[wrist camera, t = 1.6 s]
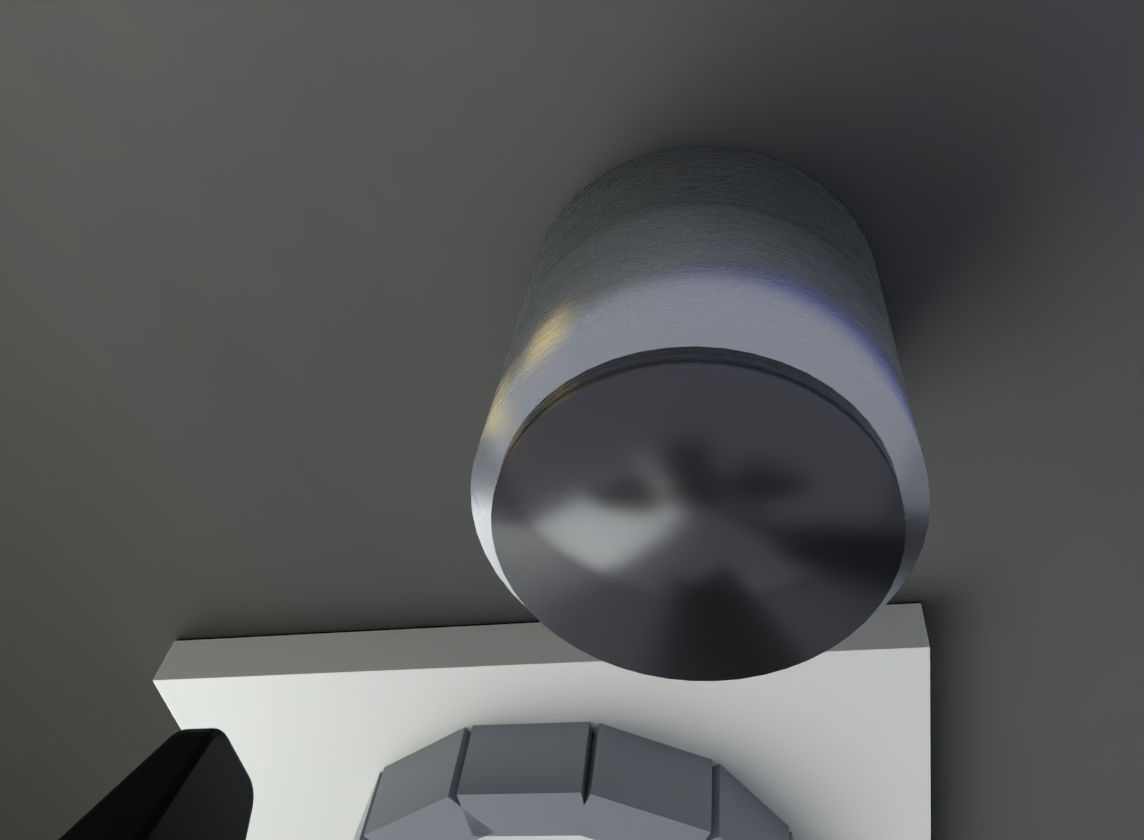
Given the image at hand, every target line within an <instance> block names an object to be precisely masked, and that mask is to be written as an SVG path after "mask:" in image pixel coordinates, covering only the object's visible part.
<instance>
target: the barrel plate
mask: <svg viewBox="0 0 1144 840" xmlns="http://www.w3.org/2000/svg"><path fill="white" fill-rule="evenodd" d="M152 681H153V682H154V684H155V686H156V687H157V689H158V691H159V693H160V694H161V696H162V698H163V699H164V701H165V703H166V704H167V706H168V708H169V710H170V711H171V713H172V715H173V716H174V718H175V720H176V722H177V723H178V725H179V727H180V728H181V730H184V729H199V728H216V729H219V730H221V731H223V732H224V733H225V734H226V735H227V737H228V739H229V740H230V742H231V744H232V746H233V748H234V749H235V751H236V753H237V755H238V757H239V758H240V760H241V762H242V764H243V766H244V768H245V769H246V771H247V773H248V775H249V777H250V779H251V782H252V786H253V793H254V800H253V808H252V813H251V818H250V823H249V827H248V832H247V837H246V840H931V772H930V645H929V640H928V635H927V630H926V626H925V621H924V616H923V611H922V606H921V603H914V604H894V605H885V606H884V607H883V608H882V609H881V610H880V611H878V612H877V613H876V614H875V615H874V616H873V617H872V618H870V619H869V620H868V621H867V622H866V623H865V624H863V625H862V626H860V627H859V628H858V629H857V630H856V631H854V632H853V633H852V634H851V635H850V636H849V637H847V638H846V639H844V640H843V641H841V642H840V643H838V644H837V645H835V646H834V647H832V648H831V649H829V650H827V651H826V652H824V653H822V654H820V655H818V656H816V657H814V658H812V659H810V660H808V661H805V662H803V663H800V664H798V665H795V666H792V667H790V668H787V669H784V670H780V671H776V672H773V673H769V674H766V675H761V676H755V677H750V678H744V679H736V680H724V681H686V680H676V679H666V678H661V677H655V676H650V675H645V674H641V673H637V672H634V671H630V670H626V669H623V668H620V667H617V666H614V665H612V664H609V663H607V662H604V661H601V660H599V659H597V658H595V657H593V656H591V655H589V654H587V653H585V652H583V651H581V650H579V649H577V648H575V647H574V646H572V645H571V644H569V643H567V642H566V641H564V640H563V639H561V638H560V637H558V636H557V635H556V634H554V633H553V632H552V631H551V630H549V629H548V628H547V627H546V626H544V625H543V624H542V623H541V622H539V623H519V624H500V625H480V626H460V627H440V628H421V629H401V630H381V631H362V632H342V633H322V634H302V635H283V636H263V637H243V638H223V639H204V640H184V641H174V643H173V644H172V646H171V648H170V650H169V652H168V653H167V655H166V657H165V659H164V661H163V662H162V664H161V666H160V668H159V670H158V671H157V673H156V675H155V677H154V678H153V680H152Z"/></svg>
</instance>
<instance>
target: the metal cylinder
mask: <svg viewBox="0 0 1144 840" xmlns="http://www.w3.org/2000/svg"><path fill="white" fill-rule="evenodd" d="M471 504H472V513H473V518H474V522H475V527H476V531H477V534H478V537H479V539H480V542H481V544H482V547H483V549H484V552H485V554H486V556H487V558H488V559H489V561H490V563H491V565H492V566H493V568H494V570H495V572H496V573H497V575H498V576H499V577H500V579H501V580H502V581H503V582H504V584H505V585H506V586H507V588H508V589H509V590H510V592H511V593H512V594H513V595H514V596H515V597H516V598H517V599H518V600H519V601H520V602H521V603H522V604H523V605H524V606H525V607H526V608H527V609H528V610H529V611H530V612H531V613H532V614H533V615H534V616H535V617H536V618H537V619H538V620H539V621H540V622H541V623H542V624H543V625H544V626H546V627H547V628H548V629H549V630H551V631H552V632H553V633H554V634H556V635H557V636H558V637H560V638H561V639H563V640H564V641H566V642H567V643H569V644H571V645H572V646H574V647H575V648H577V649H579V650H581V651H583V652H585V653H587V654H589V655H591V656H593V657H595V658H597V659H599V660H601V661H604V662H607V663H609V664H612V665H614V666H617V667H620V668H623V669H626V670H630V671H634V672H637V673H641V674H645V675H650V676H655V677H661V678H666V679H676V680H686V681H724V680H736V679H744V678H750V677H755V676H761V675H766V674H769V673H773V672H776V671H780V670H784V669H787V668H790V667H792V666H795V665H798V664H800V663H803V662H805V661H808V660H810V659H812V658H814V657H816V656H818V655H820V654H822V653H824V652H826V651H827V650H829V649H831V648H832V647H834V646H835V645H837V644H838V643H840V642H841V641H843V640H844V639H846V638H847V637H849V636H850V635H851V634H852V633H853V632H854V631H856V630H857V629H858V628H859V627H860V626H862V625H863V624H865V623H866V622H867V621H868V620H869V619H870V618H872V617H873V616H874V615H875V614H876V613H877V612H878V611H880V610H881V609H882V608H883V607H884V606H885V605H886V604H887V603H888V601H889V600H890V599H891V598H892V597H893V596H894V595H895V594H896V592H897V591H898V590H899V589H900V587H901V586H902V584H903V583H904V581H905V580H906V578H907V577H908V575H909V574H910V572H911V571H912V569H913V567H914V565H915V562H916V560H917V558H918V556H919V553H920V551H921V549H922V546H923V543H924V539H925V535H926V531H927V527H928V521H929V509H930V493H929V483H928V475H927V471H926V467H925V463H924V459H923V455H922V451H921V447H920V443H919V439H918V434H917V430H916V426H915V422H914V418H913V414H912V410H911V406H910V402H909V398H908V394H907V390H906V386H905V382H904V378H903V374H902V370H901V366H900V362H899V358H898V354H897V349H896V345H895V341H894V337H893V333H892V329H891V325H890V321H889V317H888V313H887V309H886V305H885V301H884V297H883V293H882V289H881V285H880V281H879V277H878V273H877V269H876V265H875V262H874V258H873V254H872V251H871V249H870V247H869V245H868V242H867V240H866V238H865V236H864V233H863V232H862V230H861V229H860V227H859V225H858V224H857V222H856V221H855V219H854V218H853V216H852V215H851V213H850V212H849V211H848V210H847V209H846V208H845V207H844V205H843V204H842V203H841V202H840V201H839V200H838V199H837V197H835V196H834V195H833V194H832V193H831V192H830V191H828V190H827V189H826V188H825V187H824V186H823V185H821V184H820V183H819V182H818V181H816V180H815V179H813V178H811V177H810V176H808V175H807V174H805V173H804V172H802V171H801V170H799V169H797V168H795V167H793V166H790V165H788V164H786V163H784V162H782V161H780V160H778V159H775V158H772V157H768V156H765V155H762V154H759V153H756V152H752V151H746V150H741V149H735V148H730V147H713V146H697V147H684V148H676V149H671V150H666V151H661V152H656V153H652V154H649V155H646V156H643V157H640V158H638V159H635V160H632V161H629V162H627V163H625V164H623V165H621V166H619V167H617V168H615V169H613V170H611V171H609V172H608V173H606V174H605V175H603V176H602V177H600V178H599V179H597V180H596V181H594V182H593V183H591V184H590V185H589V186H587V187H586V188H585V189H584V190H583V191H582V192H581V193H579V194H578V195H577V196H576V197H575V198H574V199H573V200H572V201H571V202H570V203H569V204H568V206H567V207H566V208H565V209H564V210H563V211H562V213H561V214H560V215H559V216H558V218H557V219H556V221H555V222H554V224H553V225H552V227H551V229H550V230H549V232H548V233H547V235H546V237H545V240H544V242H543V244H542V246H541V248H540V251H539V253H538V256H537V259H536V263H535V266H534V269H533V272H532V276H531V279H530V282H529V285H528V288H527V292H526V295H525V298H524V301H523V304H522V308H521V311H520V314H519V317H518V321H517V324H516V327H515V330H514V333H513V337H512V340H511V343H510V346H509V349H508V353H507V356H506V359H505V362H504V366H503V369H502V372H501V375H500V378H499V382H498V385H497V388H496V391H495V394H494V398H493V401H492V404H491V407H490V411H489V414H488V417H487V420H486V423H485V427H484V430H483V433H482V436H481V439H480V443H479V446H478V450H477V453H476V457H475V460H474V464H473V470H472V480H471Z"/></svg>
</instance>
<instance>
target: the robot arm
mask: <svg viewBox="0 0 1144 840" xmlns="http://www.w3.org/2000/svg"><path fill="white" fill-rule="evenodd" d="M253 800H254V793H253V786H252V782H251V779H250V777H249V775H248V773H247V771H246V769H245V768H244V766H243V764H242V762H241V760H240V758H239V757H238V755H237V753H236V751H235V749H234V748H233V746H232V744H231V742H230V740H229V739H228V737H227V735H226V734H225V733H224V732H223V731H221V730H219V729H216V728H199V729H184V730H181V731H178V732H176V733H175V734H173V735H172V736H171V737H170V738H168V739H167V740H166V741H165V742H164V743H163V744H162V745H161V746H160V747H159V748H158V749H156V750H155V751H154V752H153V753H152V754H151V755H150V756H149V757H148V758H147V759H146V760H144V761H143V762H142V763H141V764H140V765H139V766H138V767H137V768H136V769H135V770H134V771H132V772H131V773H130V774H129V775H128V776H127V777H126V778H125V779H124V780H123V781H122V782H121V783H119V784H118V785H117V786H116V787H115V788H114V789H113V790H112V791H111V792H110V793H109V794H107V795H106V796H105V797H104V798H103V799H102V800H101V801H100V802H99V803H98V804H97V805H95V806H94V807H93V808H92V809H91V810H90V811H89V812H88V813H87V814H86V815H85V816H84V817H82V818H81V819H80V820H79V821H78V822H77V823H76V824H75V825H74V826H73V827H72V828H70V829H69V830H68V831H67V832H66V833H65V834H64V835H63V836H62V837H61V838H60V839H58V840H246V837H247V832H248V827H249V823H250V818H251V813H252V808H253Z"/></svg>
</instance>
